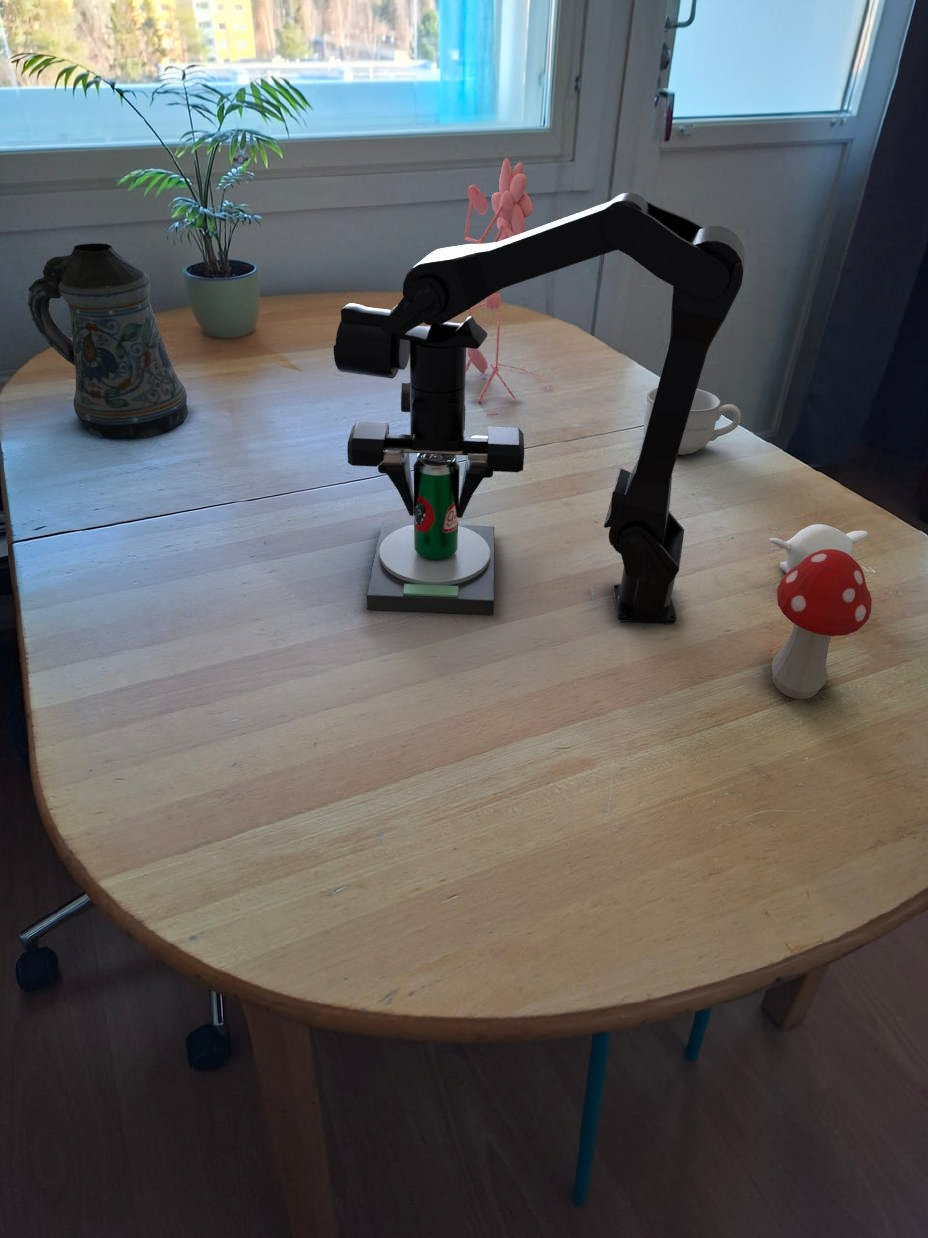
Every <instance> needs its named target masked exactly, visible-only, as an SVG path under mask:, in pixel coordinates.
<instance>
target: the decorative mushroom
mask: <svg viewBox="0 0 928 1238" xmlns="http://www.w3.org/2000/svg"><path fill="white" fill-rule="evenodd" d="M862 569H863V567H861V565H860V564H859V562H858V561H857V560H856V559H855V558H854V557H853V555H852V556H850V555H849V554H847V553H845V552H843V551H840V550H835V549H824V550H820V551H817V552H814V553H812V554H810V555H809V556H808V557H806V558H805V559H804V560H803V561H802V562H800V564H799V565H797V566H796V567H794V568H793V569H791V570H790V571H789V572H787V573H786V572H785V574H784V576H783V577H782V578H781V580H780V582H779V584H778V586H777V588H776V597H777V598H776V599H777V606H778V608H779V609H780V612H781V613H782V615H784V617H786V618H787V619H788V620H789V621H790V622H791V623H792V624H793V627H792V631H791V633H790V635H789V637H788V639H787V640H786V642H785V643H784V645H783V647H782V648H781V650H780V651H779V652H778V653H777V654H776V655H775V657H774V658H773V659H772V662H771V672H772V673H771V674H772V677H771V678H772V682H773V685H774V687H776V689H777V690H778V691H779V692H780V693H782V694H783V695H784V696H786V697H789V698H791V699H795V700H808V699H810V698H813V697H815V695H817V694H818V692H819V691H820V690H822V688H823V687H824V685H825V684H826V682H827V679H828V672H827V661H828V652H829V647H830V643H831V639H832V637H840V636H848V635H851V634H853V633H855V632H858V631H859V630H861V628H862V627H863V626H864V625H866V623H867V622H868V620H869V619H870V616H871V613H872V605H873V600H872V594H871V592H870V590H869V587H868V585H867V581H866V577H865V574H864V571H863V570H864V569H863V570H862Z"/></svg>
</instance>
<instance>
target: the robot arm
mask: <svg viewBox="0 0 928 1238" xmlns="http://www.w3.org/2000/svg"><path fill="white" fill-rule="evenodd" d="M615 251H620V252H621V253H623V254H625V255H626V256H628V257H630V258H631V259H633V260H634V261H635V262H637V263H638V264H639V265H641V266H642V267H643V268H644V269H645V270H647V271H648V272H650V273H651V274H652V275H653V276H655V277H656V278H658V279H659V280H662V281H663V282H665V283H666V284H668V285H671V286H673V287H672V300H671V312H670V314H671V315H670V335H669V336H670V337H669V343H668V347H667V350H666V354H665V357H664V362H663V366H662V370H661V373H660V377H659V380H658V384H657V387H656V388H657V392H656V396H655V400H654V403H653V407H652V411H651V415H650V419H649V423H648V426H647V430H646V434H645V433H644V438H643V442H642V446H641V450H640V453H639V457H638V459H637V461H636V463H635V464H634V466H633V468H632V469H631V471H629V470H626V469H623V468H619V469H618V472H617V476H616V479H615V483H614V486H613V489H612V492H611V498H610V502H609V505H608V509H607V513H606V516H605V520H604V523H603V528H604V529H608V528H609V531H608V541H609V545H611V546H612V548H613V549H614V550H615V552H616V553H618V554H619V555H621V559H622V564H623V569H622V576H621V580H620V581H621V582H620V584H613V585H612V586H611V587H612V588H611V591H612V596H613V603H614V607H615V612H616V618H617V620H619V621H621V622H642V623H668V624H675V623H676V622H677V613H676V611H675V606H674V603H673V599H672V596H673V591H674V586H675V582H676V578H677V577H676V576H677V574H678V573H679V571H680V565H681V560H682V551H683V545H684V544H683V543H684V536H685V528H684V527H683V526H682V525H681V524H680V522H679V521H678V520H677V519H676V518H675V516H674V515H673V514H672V513H671V512H670V507H671V506H670V505H671V496H672V483H673V482H672V481H673V472H674V468H675V465H676V461H677V458H678V455H679V454H678V451H679V448H680V444H681V441H682V437H683V434H684V430H685V427H686V424H687V420H688V417H689V413H690V410H691V406H692V403H693V400H694V396H695V393H696V389H698V385H699V383H700V379H701V375H702V372H703V368H704V366H705V361H706V359H707V355H708V351H709V348H710V347H711V345H712V343H713V341H714V339H715V338H716V336H717V334H718V332H719V330H720V329H721V327H722V325H723V324H724V322H725V320H726V318H727V316H728V315H729V313H730V310H731V308H732V306H733V304H734V302H735V301H736V298H737V296H738V293H739V291H740V290H741V287H742V284H743V278H744V270H745V269H744V268H745V248H744V245H743V243H742V241H741V239H740V237H739V236H738V234H736V233H735V232H734V231H732V229H730V228H727V227H725V226H723V225H708V226H706V227H704V226H702V225H701V224H699V223H697V222H695V221H693V220H691V219H689V218H687V217H685V216H683V215H680V214H678V213H675V212H674V211H673V212H672V211H670V210H667V209H665V208H663V207H661V206H658V205H655V204H654V203H652V202H650V201H648V200H646V199H645V198H644V197H643V196H641V195H640V194H638V193H634V192H625V193H620V194H619V195H617V196H615V197H614V198H613V199H611V200H610V201H607V202H604V203H602V204H597V205H595V206H593V207H590V208H588V209H584V210H582V211H579V212H577V213H574V214H571V215H569V216H565V217H563V218H560V219H558V220H554V221H552V222H548V223H546V224H544V225H541V226H538V227H535V228H533V229H530V230H526V231H525V232H524V233H521V234H519V235H516V236H513V237H510V238H508V239H505V240H502V241H498V242H494V241H493V242H488V243H483V244H476V243H468V244H461V245H455V246H454V245H453V246H447V247H442V248H438V249H435V250H433V251H432V252H430V253H428V254H427V255H426V256H425V257H424V258H422V260H420V261H419V262H418V263H416V264H415V265H414V266H413V267H411V268H410V270H409V271H407V273H406V274H405V278H404V281H403V283H402V298H401V300H400V301H399V303H398V304H397V305H395V306H394V307H393V308H392V309H384V308H376V307H369V306H366V305H365V306H364V305H362V304H358V303H350V302H349V303H348V304H346V305H345V306H344V307H342V308H341V309H340V322H339V324H338V327H337V331H336V337H335V344H334V345H333V359H334V364H335V366H336V368H337V370H338V372H341V373H347V374H355V375H362V376H368V377H377V378H383V379H395V377H397V374H398V373H399V371H404V370H406V368H407V367H408V364H409V382H401V389H400V390H401V391H400V411H401V413H409V416H410V417H409V421H410V422H409V423H410V424H409V426H410V427H409V431H410V432H409V433H410V434H402V433H401V434H399V433H390V424H389V422H388V421H365V420H358V421H356V422H355V423H354V424H353V425H352V427H351V430H350V433H349V437H348V440H347V449H346V450H347V463H348V464H349V465H350V466H353V467H376V468H377V472H378V473H379V474H384V475H387V477H388V478H389V480H390V481H391V482H392V484H393V485H394V487H395V488H396V490H397V492H398V494H399V496H400V497H401V500H402V502H403V504H404V506H405V509H406V510H407V513H408V515H409V516H410V517H414V486H413V480H412V473H411V472H412V471H411V463H410V462H411V461H410V454H419V453H420V454H445V455H456V456H466V457H465V465H464V470H463V475H462V482H461V487H460V492H459V509H458V519H462V518H463V516H464V514H465V512H466V509H467V508H468V506H469V504H470V501H471V499H472V497H473V495H474V494H475V492H476V491H477V489H478V487H479V486H480V484H481V482H482V481H483V480H484V479H490V478H492V477H493V476H494V472H499V473H502V472H503V473H520V472H522V471H524V464H525V437H524V432H523V431H522V430H521V429H520V428H519V427H514V426H513V427H512V426H492V425H491V426H489V425H488V426H487V435H472V436H465V429H466V375H467V372H466V365H467V349H468V348H471V349H478V350H479V348H480V347H481V346H482V344H483V343H484V342H485V340H486V339H487V338H488V332H487V331H486V330H484V328H483V327H482V326H481V325H479V324H478V323H477V321H476V320H475V317H474V316H469V315H468V317H467V318H466V319H465V320H464V321H463V322H460V323H459V322H451V321H450V320H453V319H454V318H456V317H458V316H459V315H461V314H463V313H465V312H467V311H469V309H470V308H472V307H475V306H477V305H479V304H480V303H481V302H482V301H485V299H486V298H487V297H489V296H490V295H492V294H494V293H495V292H497V291H498V292H499V291H500V290H503V289H506V288H509V287H511V286H514V285H517V284H520V283H523V282H526V281H529V280H532V279H535V278H538V277H541V276H544V275H547V274H549V273H553V272H556V271H559V270H561V269H564V268H568V267H570V266H573V265H576V264H579V263H582V262H585V261H588V260H591V259H595V258H597V257H600V256H602V255H603V256H604V255H605V254H609V253H612V252H615ZM498 292H497V293H498ZM422 324H425V325H426V326H423V325H422Z"/></svg>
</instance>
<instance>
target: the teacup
mask: <svg viewBox="0 0 928 1238" xmlns="http://www.w3.org/2000/svg"><path fill="white" fill-rule="evenodd" d="M657 388H658V387H655V388H652V389H651V390H649V391H647V393H646V403H645V408H644V415H643V434H644V435H645V434H646V430H647V426H648V423H649V419H650V415H651V411H652V407H653V403H654V400H655V396H656V392H657ZM727 412H728V413H729V412H730V413H732V414H733V417H734V418H733V421H732V422H731V423H730V424H728V425H726V426H725V427H721V428H717V429H715V428H716V423H717V421H719V420H720V418H721V416H722V415H723V414H725V413H727ZM741 420H742V413H741V410H740V409H739V407H737V406H736V405H735V404H731V403H727V404H722V405H721V400H720V398H719V397H718V396H716V395H715V394H713V393H712V392H710V391H709V392H708V391H706V390H703V389H699V388H697V389H696V393H695V396H694V400H693V403H692V406H691V410H690V413H689V417H688V420H687V424H686V427H685V430H684V434H683V437H682V441H681V444H680V448H679V451H678V454H677V455H689V454H693V453H696V452H697V451H699V450H700V449H702V448H704V447H705V446H706V445H708V444H709V443H710V442H713V441H715V440H717V438H718V437H721V436H725V435H727V434H729V433H731V432H733V431H734V430H736V429H737V428H738V426H739V425H740V423H741Z"/></svg>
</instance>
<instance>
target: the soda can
mask: <svg viewBox="0 0 928 1238" xmlns="http://www.w3.org/2000/svg"><path fill="white" fill-rule="evenodd" d="M457 459H458V458H457V455H445V454H420V453H417V456H416V461H415V462H414V464H413V494H414V515H413V523H414V549H415V551H416V552H417V553H418V554H419V555H420V556H421V557H423V558H425V559H428V560H434V561H438V560H444V559H447V558H449V557H451V556H452V555H453V554H454V553H455V552H456V551H457V548H458V525H459V518H458V509H459V498H460V475H461V473H460V472H461V469H460V468H461V465H460V463H459V462H458V460H457Z"/></svg>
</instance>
